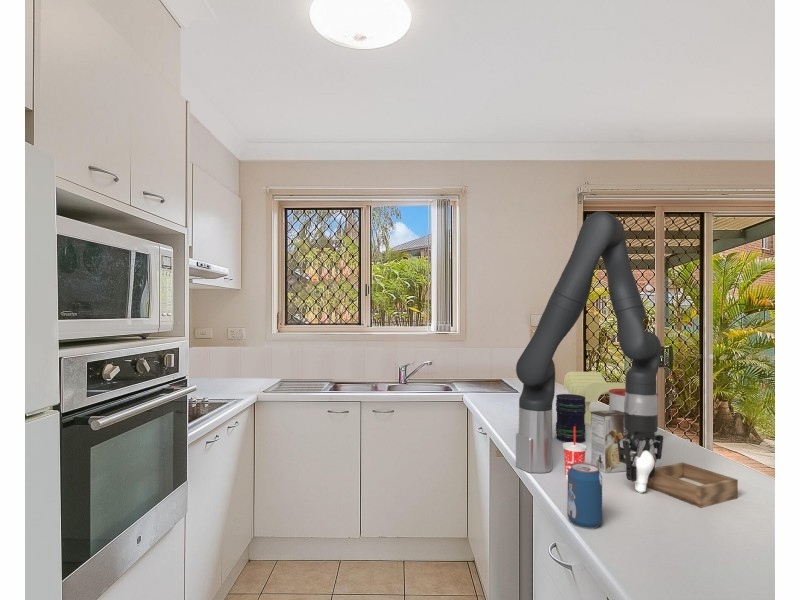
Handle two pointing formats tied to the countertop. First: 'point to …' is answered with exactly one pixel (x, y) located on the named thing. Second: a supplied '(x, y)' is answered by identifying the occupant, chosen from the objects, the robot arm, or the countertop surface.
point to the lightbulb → (643, 470)
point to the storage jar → (570, 417)
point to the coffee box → (607, 440)
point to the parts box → (693, 484)
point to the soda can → (584, 495)
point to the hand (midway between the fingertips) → (640, 478)
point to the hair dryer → (589, 387)
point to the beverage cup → (573, 453)
